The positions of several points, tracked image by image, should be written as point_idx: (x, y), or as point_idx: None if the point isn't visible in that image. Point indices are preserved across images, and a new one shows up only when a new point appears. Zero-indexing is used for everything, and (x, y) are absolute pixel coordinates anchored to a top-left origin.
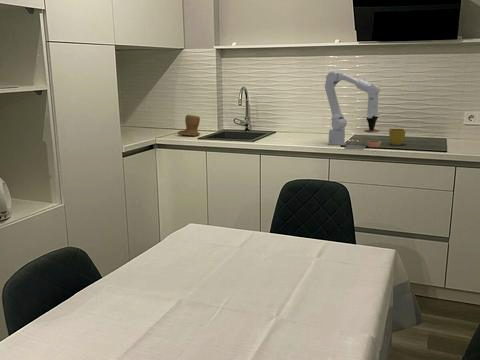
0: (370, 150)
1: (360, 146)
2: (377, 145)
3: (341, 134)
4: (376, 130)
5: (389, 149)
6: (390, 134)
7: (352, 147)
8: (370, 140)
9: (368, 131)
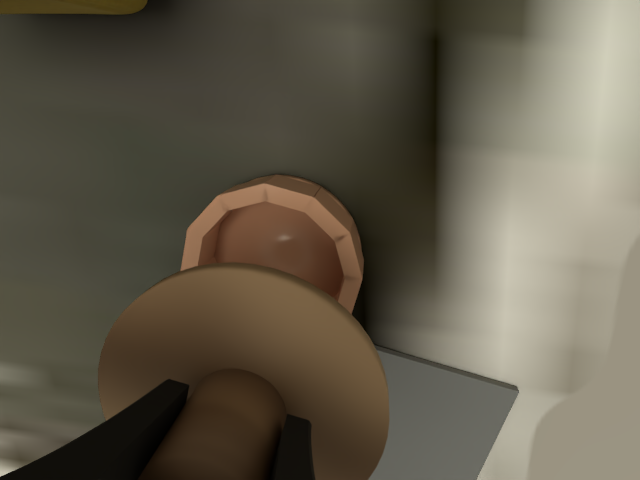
0: (571, 318)
1: None
2: (353, 222)
3: None
4: (248, 330)
5: (511, 73)
6: (93, 3)
7: (413, 475)
8: None
9: (365, 477)
